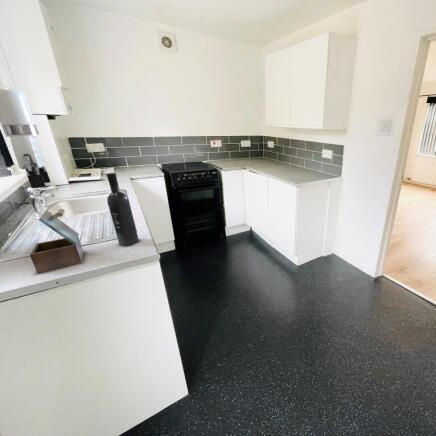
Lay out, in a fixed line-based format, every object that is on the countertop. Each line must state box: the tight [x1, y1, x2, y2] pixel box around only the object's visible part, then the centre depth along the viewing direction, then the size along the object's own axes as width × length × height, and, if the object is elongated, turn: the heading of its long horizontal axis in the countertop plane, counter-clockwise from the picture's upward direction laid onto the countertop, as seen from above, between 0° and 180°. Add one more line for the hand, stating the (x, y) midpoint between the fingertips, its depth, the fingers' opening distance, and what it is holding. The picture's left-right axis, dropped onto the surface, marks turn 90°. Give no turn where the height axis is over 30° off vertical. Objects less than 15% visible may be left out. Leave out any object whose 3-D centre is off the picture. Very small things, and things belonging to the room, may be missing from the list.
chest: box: [29, 236, 85, 275], centre depth 88 cm, size 12×11×8 cm
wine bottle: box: [106, 172, 140, 247], centre depth 98 cm, size 6×6×30 cm
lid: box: [38, 208, 79, 245], centre depth 87 cm, size 12×11×5 cm
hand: (42, 185), depth 83 cm, fingers open, 9 cm apart
